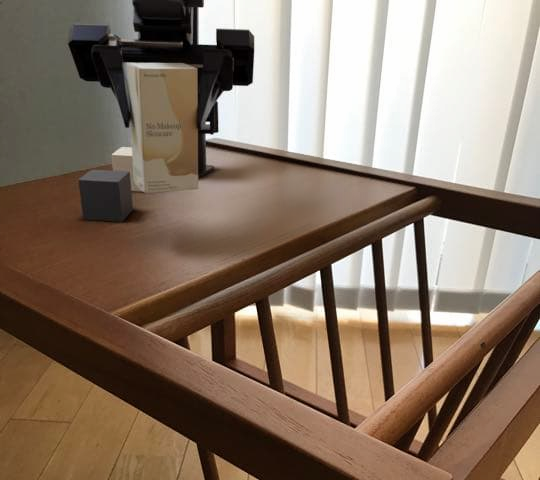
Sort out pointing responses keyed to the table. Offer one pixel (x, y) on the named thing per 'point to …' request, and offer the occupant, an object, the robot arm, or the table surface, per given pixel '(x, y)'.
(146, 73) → the cosmetic box
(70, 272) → the table surface
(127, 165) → the ivory block
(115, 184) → the slate block
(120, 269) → the table surface
